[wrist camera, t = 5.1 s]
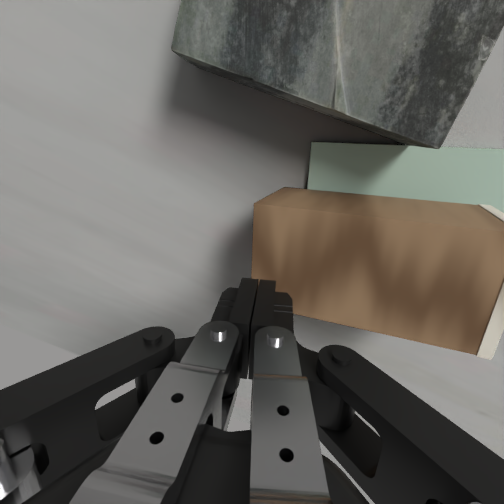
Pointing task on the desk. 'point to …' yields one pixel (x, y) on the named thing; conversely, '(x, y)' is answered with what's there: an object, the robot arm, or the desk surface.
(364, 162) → the sage mat
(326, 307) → the walnut block
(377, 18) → the stone block
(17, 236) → the desk surface
